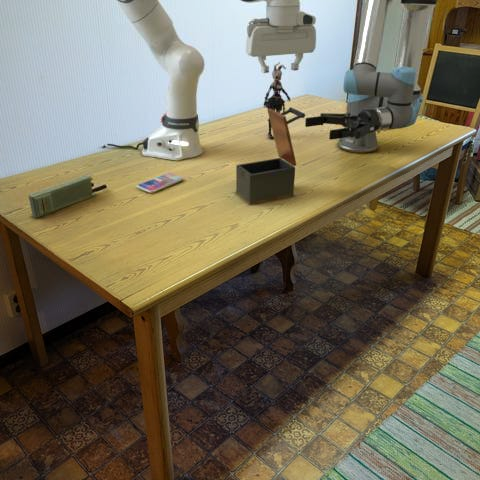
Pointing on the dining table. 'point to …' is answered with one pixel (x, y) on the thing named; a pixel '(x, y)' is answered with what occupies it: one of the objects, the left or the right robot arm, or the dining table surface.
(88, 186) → the handheld radio
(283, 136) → the lid
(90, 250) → the dining table surface
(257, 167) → the chest
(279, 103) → the figurine
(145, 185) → the smartphone
